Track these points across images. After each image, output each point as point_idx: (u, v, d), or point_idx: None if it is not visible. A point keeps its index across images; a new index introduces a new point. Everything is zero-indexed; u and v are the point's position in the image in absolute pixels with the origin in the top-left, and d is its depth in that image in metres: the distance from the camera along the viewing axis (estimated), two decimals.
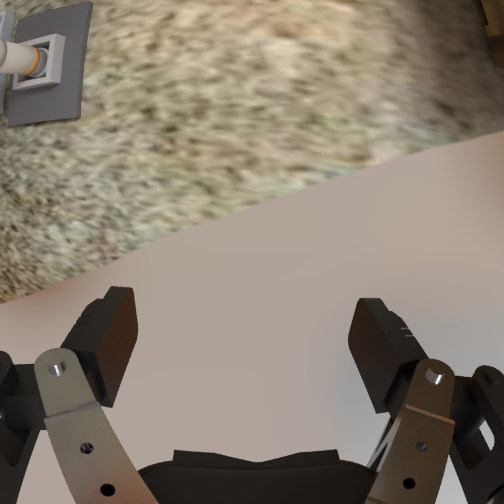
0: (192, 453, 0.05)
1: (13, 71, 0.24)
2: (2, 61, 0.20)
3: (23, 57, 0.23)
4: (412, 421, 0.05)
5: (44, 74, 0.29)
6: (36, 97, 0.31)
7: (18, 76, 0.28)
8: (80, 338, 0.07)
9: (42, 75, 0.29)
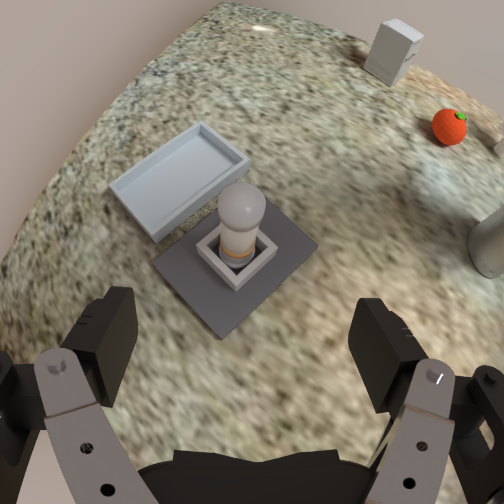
0: (192, 453, 0.05)
1: (229, 242, 0.31)
2: (246, 230, 0.27)
3: (250, 242, 0.31)
4: (412, 421, 0.05)
5: (231, 267, 0.37)
6: (203, 275, 0.37)
7: (211, 240, 0.36)
8: (80, 338, 0.07)
9: (229, 266, 0.36)
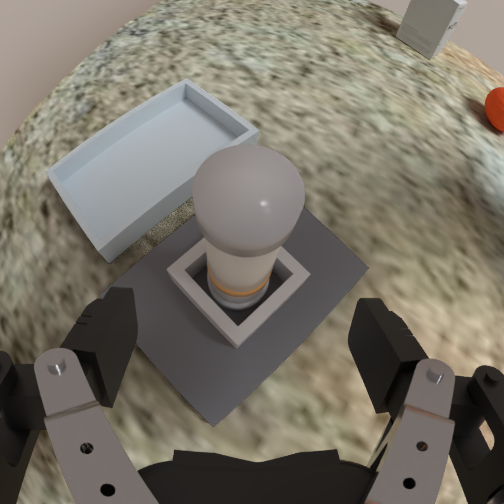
0: (192, 453, 0.05)
1: (223, 273, 0.15)
2: (258, 253, 0.12)
3: (264, 272, 0.16)
4: (412, 421, 0.05)
5: (228, 307, 0.21)
6: (181, 320, 0.21)
7: (194, 261, 0.20)
8: (80, 338, 0.07)
9: (225, 306, 0.21)
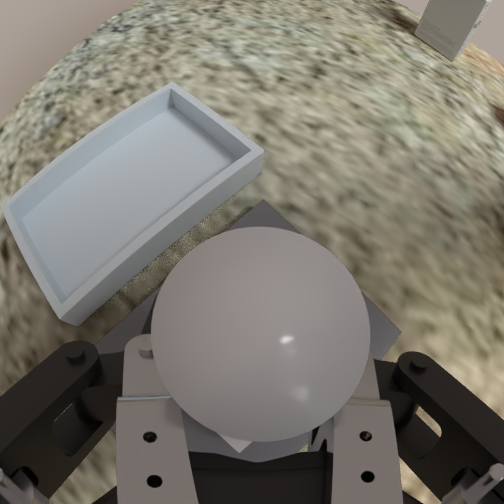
0: (192, 453, 0.05)
1: None
2: None
3: None
4: (346, 413, 0.05)
5: None
6: None
7: None
8: None
9: None
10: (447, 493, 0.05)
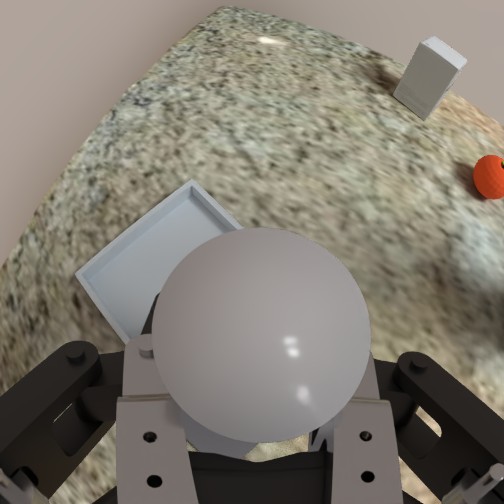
0: (192, 453, 0.05)
1: None
2: None
3: None
4: (346, 413, 0.05)
5: None
6: None
7: None
8: None
9: None
10: (446, 493, 0.05)
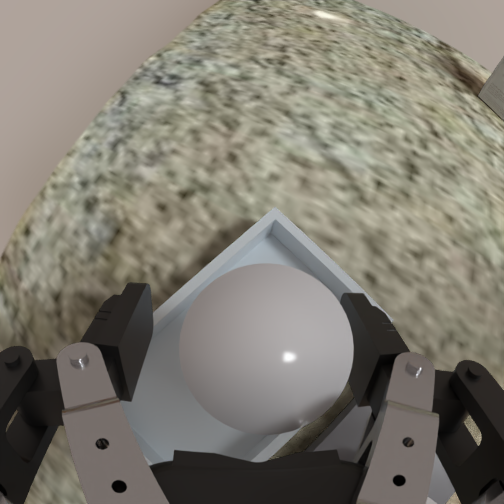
0: (192, 453, 0.05)
1: None
2: None
3: None
4: (396, 417, 0.05)
5: None
6: None
7: None
8: (101, 333, 0.08)
9: None
10: (472, 502, 0.04)
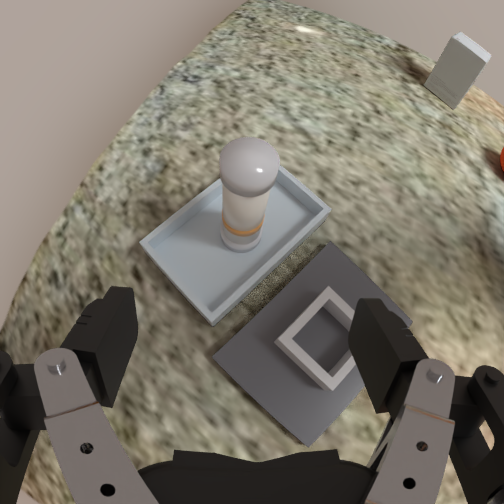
0: (192, 453, 0.05)
1: (233, 214, 0.25)
2: (255, 194, 0.21)
3: (258, 214, 0.25)
4: (412, 421, 0.05)
5: (234, 249, 0.31)
6: (283, 372, 0.27)
7: (298, 331, 0.26)
8: (80, 338, 0.07)
9: (232, 247, 0.30)
10: None
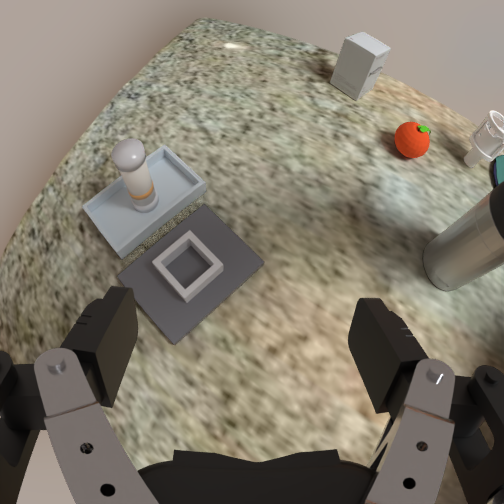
0: (192, 453, 0.05)
1: (127, 184, 0.39)
2: (129, 170, 0.36)
3: (141, 184, 0.39)
4: (412, 421, 0.05)
5: (139, 209, 0.45)
6: (159, 288, 0.41)
7: (165, 257, 0.40)
8: (80, 338, 0.07)
9: (137, 208, 0.44)
10: None
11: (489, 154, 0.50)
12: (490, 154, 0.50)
